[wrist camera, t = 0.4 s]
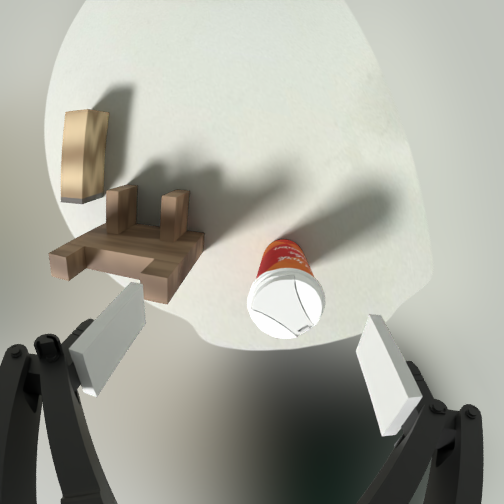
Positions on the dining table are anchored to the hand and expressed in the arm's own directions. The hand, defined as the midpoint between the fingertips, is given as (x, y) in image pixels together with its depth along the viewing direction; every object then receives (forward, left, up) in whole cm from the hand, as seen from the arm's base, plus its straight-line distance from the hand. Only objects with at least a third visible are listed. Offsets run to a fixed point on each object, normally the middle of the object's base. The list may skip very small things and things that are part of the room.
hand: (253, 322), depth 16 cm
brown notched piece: (+2, -17, -27) cm, 32 cm away
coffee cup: (+6, +3, -27) cm, 28 cm away
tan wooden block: (-7, -29, -27) cm, 40 cm away
